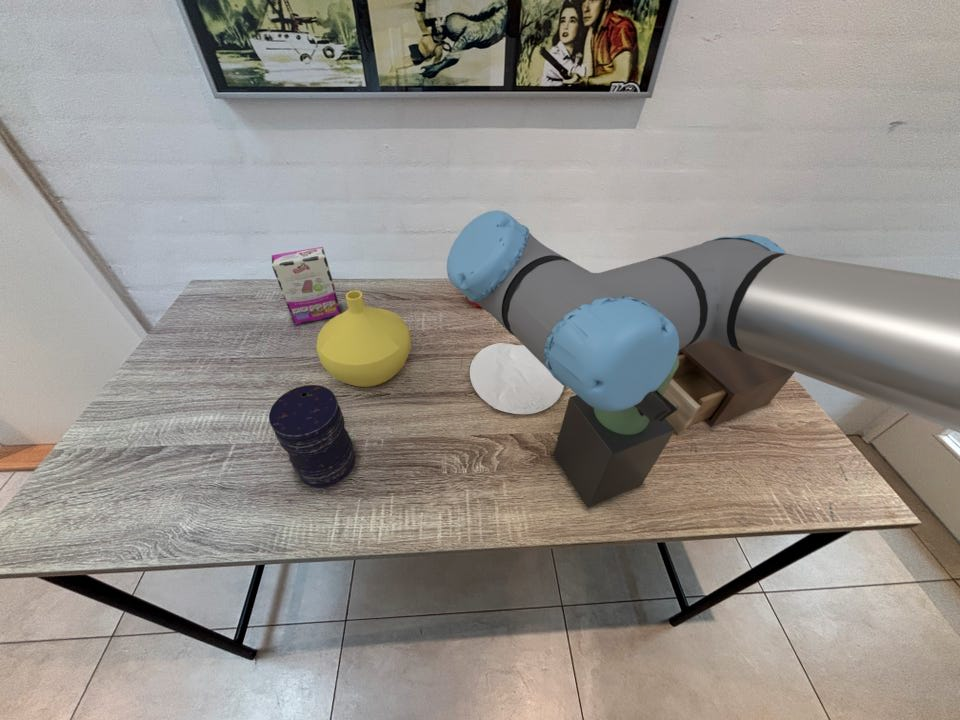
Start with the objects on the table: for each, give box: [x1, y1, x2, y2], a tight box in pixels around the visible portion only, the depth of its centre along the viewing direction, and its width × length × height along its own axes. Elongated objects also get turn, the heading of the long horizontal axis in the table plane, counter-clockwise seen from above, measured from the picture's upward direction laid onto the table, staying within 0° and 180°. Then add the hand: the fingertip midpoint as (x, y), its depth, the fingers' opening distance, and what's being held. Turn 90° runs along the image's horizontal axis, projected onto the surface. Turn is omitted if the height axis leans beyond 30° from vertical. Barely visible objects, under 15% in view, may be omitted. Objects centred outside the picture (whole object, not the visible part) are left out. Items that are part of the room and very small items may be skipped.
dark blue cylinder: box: [268, 384, 357, 490], centre depth 66 cm, size 10×10×15 cm
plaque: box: [469, 342, 565, 415], centre depth 87 cm, size 20×20×2 cm
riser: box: [553, 394, 676, 509], centre depth 66 cm, size 11×11×16 cm
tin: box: [594, 355, 679, 435], centre depth 56 cm, size 8×8×12 cm
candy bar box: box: [271, 246, 342, 326], centre depth 94 cm, size 11×5×16 cm, turn 112°
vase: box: [315, 290, 412, 388], centre depth 81 cm, size 18×18×19 cm
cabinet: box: [678, 341, 796, 428], centre depth 82 cm, size 16×14×10 cm
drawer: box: [663, 354, 729, 436], centre depth 79 cm, size 20×13×8 cm, turn 113°
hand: (648, 390), depth 58 cm, fingers closed on tin, 8 cm apart
